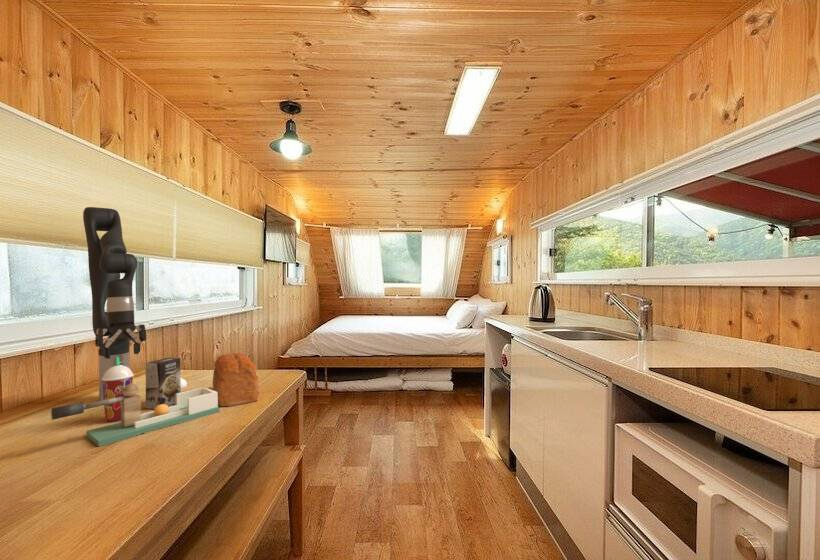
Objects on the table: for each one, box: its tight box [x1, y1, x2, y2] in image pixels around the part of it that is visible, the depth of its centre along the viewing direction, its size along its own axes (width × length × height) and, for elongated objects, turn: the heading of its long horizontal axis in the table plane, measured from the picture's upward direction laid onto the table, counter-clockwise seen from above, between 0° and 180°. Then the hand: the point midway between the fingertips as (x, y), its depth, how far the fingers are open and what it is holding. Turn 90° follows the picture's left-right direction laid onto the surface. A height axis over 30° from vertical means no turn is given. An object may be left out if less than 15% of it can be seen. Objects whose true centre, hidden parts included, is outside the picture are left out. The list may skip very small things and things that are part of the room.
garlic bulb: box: [180, 376, 188, 390], centre depth 154 cm, size 6×6×8 cm
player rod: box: [50, 383, 142, 427], centre depth 104 cm, size 4×19×12 cm, turn 143°
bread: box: [212, 352, 260, 408], centre depth 143 cm, size 14×27×15 cm, turn 32°
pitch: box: [85, 387, 220, 447], centre depth 116 cm, size 12×32×6 cm, turn 143°
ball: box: [153, 404, 170, 416], centre depth 117 cm, size 4×4×4 cm
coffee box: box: [145, 357, 182, 410], centre depth 133 cm, size 9×6×16 cm
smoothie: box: [101, 357, 135, 423], centre depth 120 cm, size 8×8×20 cm
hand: (122, 356), depth 130 cm, fingers open, 8 cm apart
